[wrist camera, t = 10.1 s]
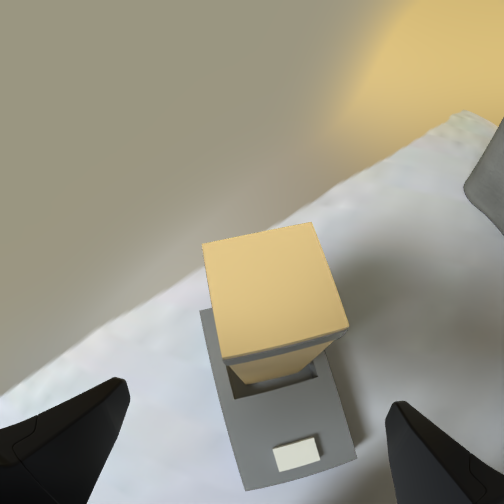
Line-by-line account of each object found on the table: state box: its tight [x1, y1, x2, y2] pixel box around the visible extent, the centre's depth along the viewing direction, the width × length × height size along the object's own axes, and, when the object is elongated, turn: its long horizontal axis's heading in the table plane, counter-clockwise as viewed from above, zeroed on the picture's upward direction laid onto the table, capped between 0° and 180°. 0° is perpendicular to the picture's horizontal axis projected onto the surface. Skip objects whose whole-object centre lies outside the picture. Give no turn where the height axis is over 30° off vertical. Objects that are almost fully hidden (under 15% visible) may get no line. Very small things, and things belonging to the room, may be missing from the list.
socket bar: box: [200, 308, 357, 491], centre depth 19 cm, size 14×8×3 cm, turn 14°
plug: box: [202, 222, 349, 385], centre depth 15 cm, size 4×4×14 cm
